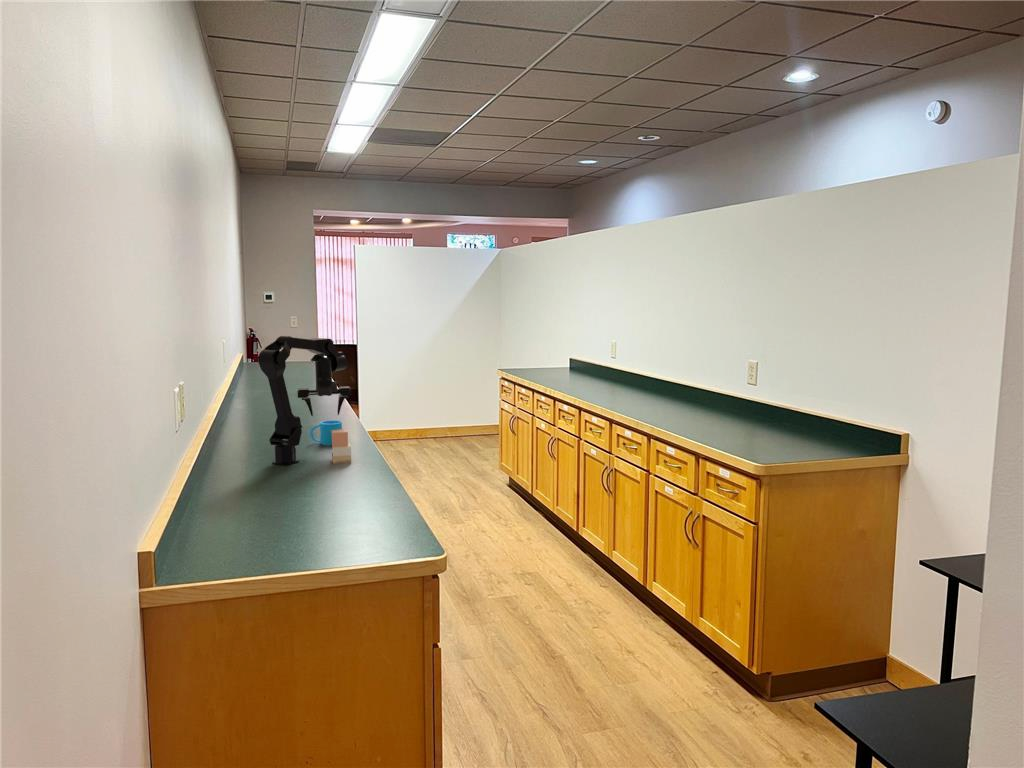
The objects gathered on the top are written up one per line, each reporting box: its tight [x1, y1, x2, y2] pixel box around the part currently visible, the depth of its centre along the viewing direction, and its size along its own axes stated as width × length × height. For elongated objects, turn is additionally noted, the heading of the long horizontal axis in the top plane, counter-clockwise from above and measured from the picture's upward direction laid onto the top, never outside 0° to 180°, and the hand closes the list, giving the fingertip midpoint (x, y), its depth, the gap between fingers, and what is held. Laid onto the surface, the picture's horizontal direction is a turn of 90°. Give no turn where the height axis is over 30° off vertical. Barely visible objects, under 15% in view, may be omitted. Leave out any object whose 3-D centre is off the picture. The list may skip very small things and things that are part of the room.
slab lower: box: [331, 451, 352, 465], centre depth 257 cm, size 6×6×3 cm
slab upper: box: [331, 442, 352, 456], centre depth 257 cm, size 6×6×3 cm
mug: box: [309, 420, 343, 446], centre depth 287 cm, size 12×8×8 cm
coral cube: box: [331, 428, 349, 447], centre depth 256 cm, size 5×5×5 cm
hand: (325, 415), depth 271 cm, fingers open, 9 cm apart
